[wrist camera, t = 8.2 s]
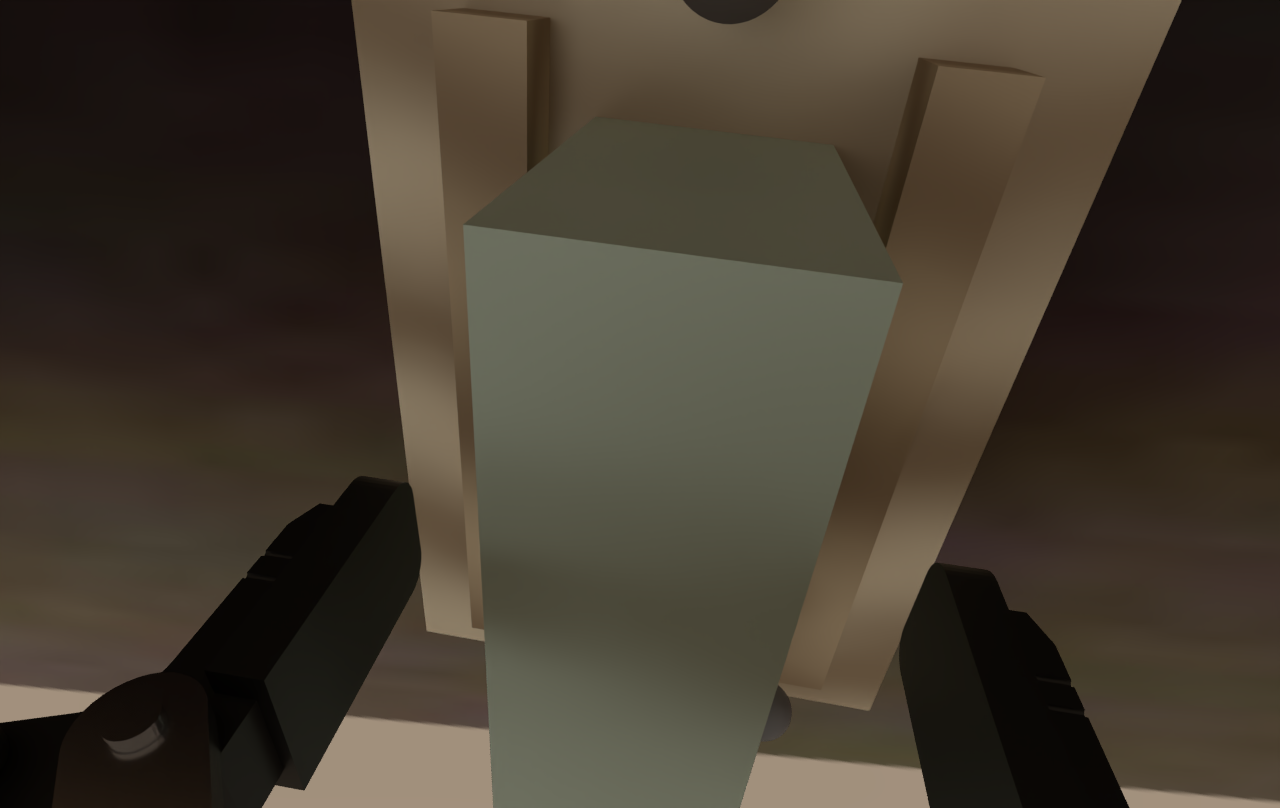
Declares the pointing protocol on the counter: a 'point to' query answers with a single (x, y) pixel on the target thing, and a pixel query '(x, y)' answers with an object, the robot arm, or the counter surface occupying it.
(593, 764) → the rectangular block
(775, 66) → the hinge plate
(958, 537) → the counter surface
